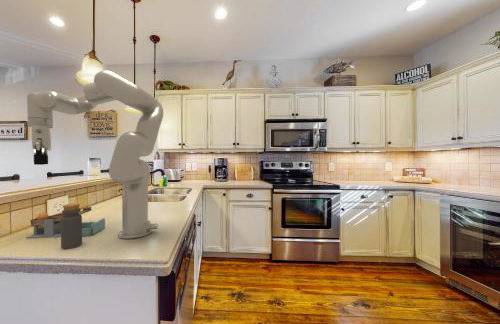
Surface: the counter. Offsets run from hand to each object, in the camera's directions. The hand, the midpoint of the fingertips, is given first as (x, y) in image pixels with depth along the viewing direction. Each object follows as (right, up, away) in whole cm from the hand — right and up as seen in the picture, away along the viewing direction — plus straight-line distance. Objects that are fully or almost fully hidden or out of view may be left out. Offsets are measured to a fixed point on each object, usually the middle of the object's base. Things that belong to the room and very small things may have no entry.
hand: (41, 164), depth 89 cm
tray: (+17, -29, +2) cm, 34 cm away
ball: (+1, -22, 0) cm, 22 cm away
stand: (+6, -29, 0) cm, 30 cm away
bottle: (+23, -30, -12) cm, 39 cm away
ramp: (+6, -25, +5) cm, 26 cm away
